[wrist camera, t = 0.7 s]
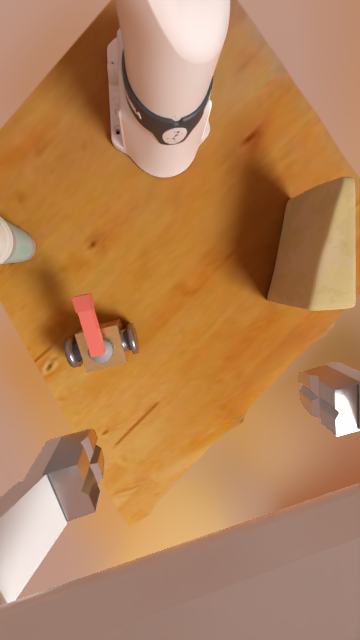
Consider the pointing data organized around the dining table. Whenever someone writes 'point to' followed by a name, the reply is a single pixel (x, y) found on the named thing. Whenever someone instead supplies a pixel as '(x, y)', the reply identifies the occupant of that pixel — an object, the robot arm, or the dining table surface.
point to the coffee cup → (15, 244)
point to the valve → (111, 332)
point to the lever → (92, 329)
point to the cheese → (317, 249)
